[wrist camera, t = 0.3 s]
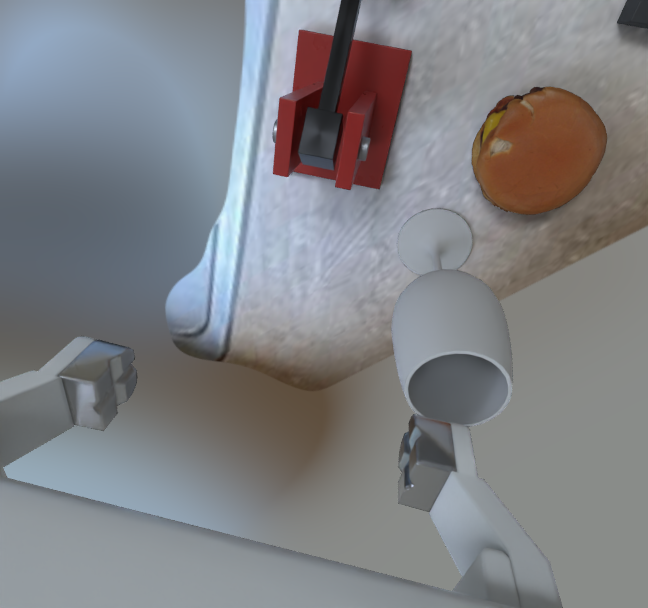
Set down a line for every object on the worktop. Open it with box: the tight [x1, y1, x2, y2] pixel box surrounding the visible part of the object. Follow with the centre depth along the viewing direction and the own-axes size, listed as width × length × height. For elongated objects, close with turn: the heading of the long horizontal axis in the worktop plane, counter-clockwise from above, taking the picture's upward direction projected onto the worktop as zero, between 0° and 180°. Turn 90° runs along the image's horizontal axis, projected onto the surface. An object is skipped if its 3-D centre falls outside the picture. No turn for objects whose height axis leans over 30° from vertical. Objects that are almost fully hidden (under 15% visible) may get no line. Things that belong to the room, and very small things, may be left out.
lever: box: [298, 0, 361, 171], centre depth 26 cm, size 15×5×2 cm, turn 172°
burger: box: [472, 87, 607, 215], centre depth 33 cm, size 10×9×5 cm
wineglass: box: [391, 209, 513, 427], centre depth 32 cm, size 8×8×21 cm
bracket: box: [273, 30, 412, 190], centre depth 30 cm, size 11×9×14 cm
